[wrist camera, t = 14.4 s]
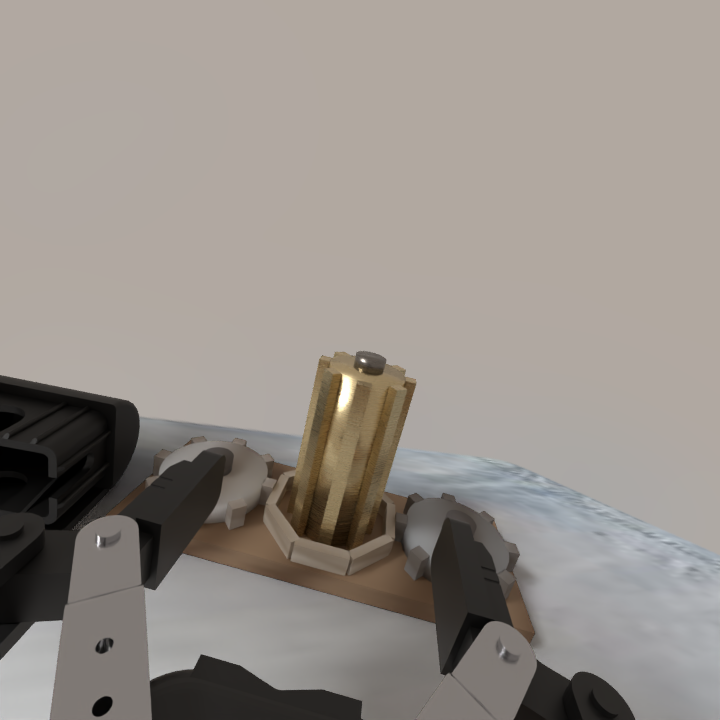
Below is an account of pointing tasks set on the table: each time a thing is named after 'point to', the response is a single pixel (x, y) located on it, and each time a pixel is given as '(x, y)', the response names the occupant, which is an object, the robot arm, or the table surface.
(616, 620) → the table surface
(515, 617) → the gear board
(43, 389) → the end cap
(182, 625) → the table surface
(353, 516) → the pinion
